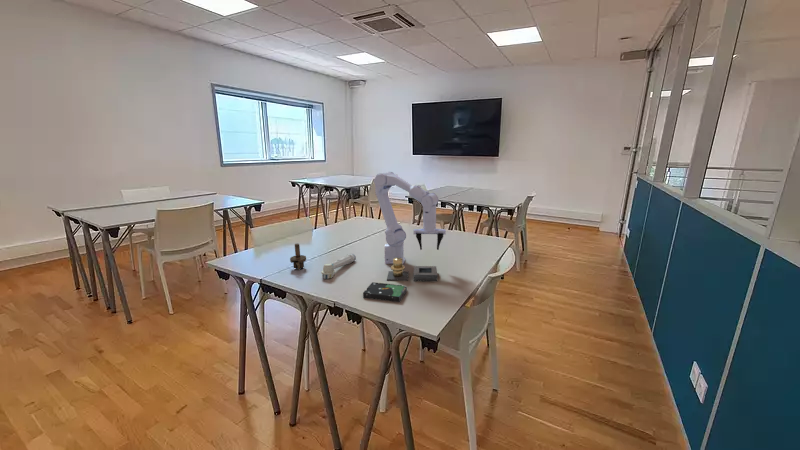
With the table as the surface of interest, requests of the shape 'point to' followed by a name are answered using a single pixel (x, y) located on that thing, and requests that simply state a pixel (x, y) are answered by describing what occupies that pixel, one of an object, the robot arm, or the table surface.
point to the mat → (392, 278)
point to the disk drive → (385, 292)
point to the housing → (425, 273)
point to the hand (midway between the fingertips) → (429, 249)
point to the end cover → (397, 267)
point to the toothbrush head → (336, 265)
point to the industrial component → (298, 258)
